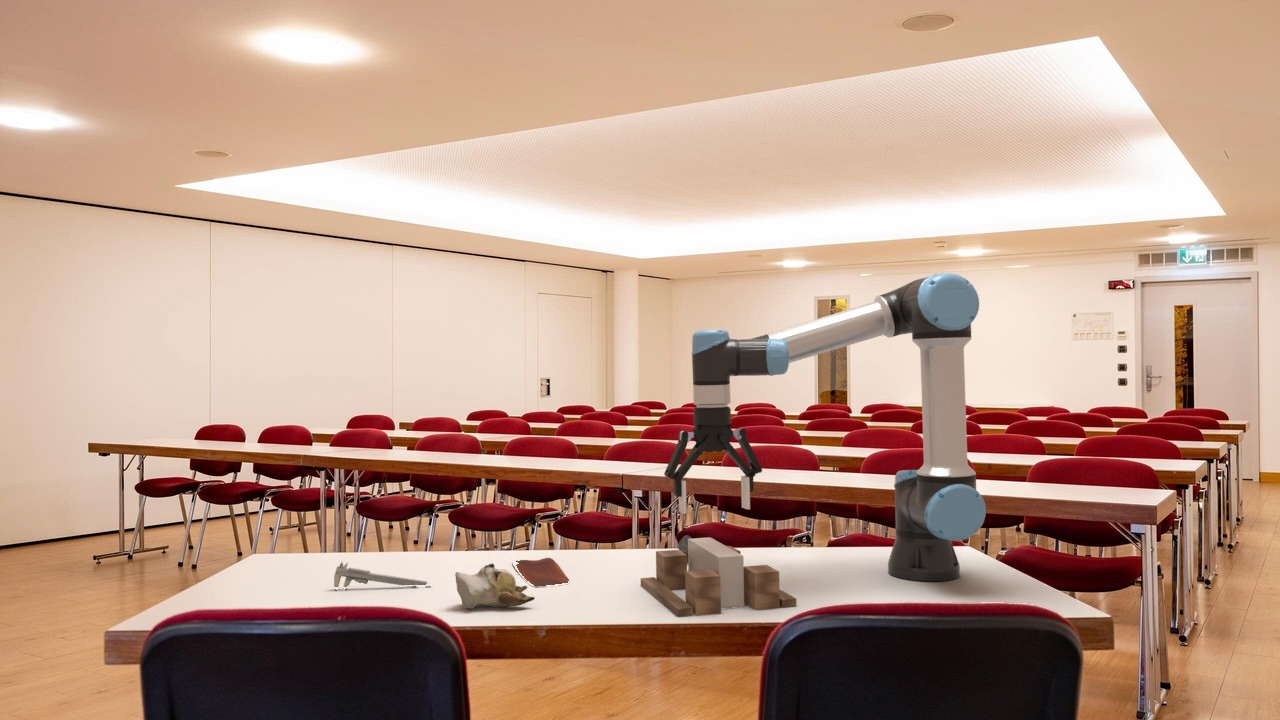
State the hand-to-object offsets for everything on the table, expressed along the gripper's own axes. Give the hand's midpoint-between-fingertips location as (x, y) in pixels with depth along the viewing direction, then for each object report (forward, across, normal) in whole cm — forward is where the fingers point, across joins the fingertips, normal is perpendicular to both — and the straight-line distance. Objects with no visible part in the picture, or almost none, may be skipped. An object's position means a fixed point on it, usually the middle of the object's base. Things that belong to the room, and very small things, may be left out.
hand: (714, 510), depth 187 cm
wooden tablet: (+18, +31, -32) cm, 48 cm away
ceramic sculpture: (+17, +44, -6) cm, 48 cm away
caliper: (+17, +65, -28) cm, 73 cm away
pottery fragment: (+18, -10, -35) cm, 40 cm away
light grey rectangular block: (+17, 0, 0) cm, 17 cm away
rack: (+17, 0, 0) cm, 17 cm away
